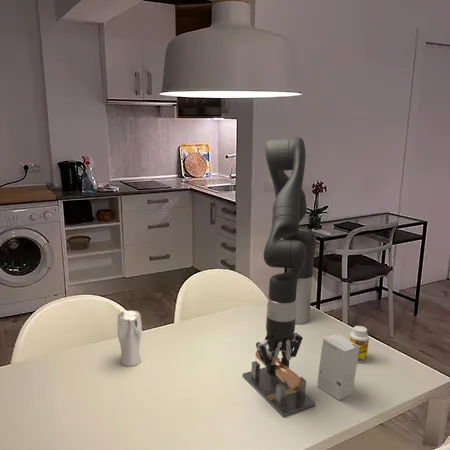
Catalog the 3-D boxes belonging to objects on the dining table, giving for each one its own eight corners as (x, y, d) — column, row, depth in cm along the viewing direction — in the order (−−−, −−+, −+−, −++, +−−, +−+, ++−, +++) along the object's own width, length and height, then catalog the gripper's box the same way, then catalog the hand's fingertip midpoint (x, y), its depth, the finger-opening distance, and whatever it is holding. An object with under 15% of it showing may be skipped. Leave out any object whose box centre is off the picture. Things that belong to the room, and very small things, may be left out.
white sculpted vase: (124, 370, 134) (123, 322, 130) (114, 359, 139) (113, 313, 136) (146, 362, 138) (145, 316, 134) (136, 352, 143) (135, 308, 140)
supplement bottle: (352, 364, 140) (355, 333, 138) (345, 354, 146) (348, 324, 143) (369, 363, 141) (373, 332, 139) (361, 353, 146) (365, 324, 144)
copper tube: (302, 389, 118) (303, 376, 117) (290, 392, 116) (291, 379, 116) (266, 357, 133) (266, 346, 132) (255, 360, 131) (255, 348, 130)
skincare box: (316, 386, 128) (320, 337, 125) (331, 379, 132) (335, 331, 128) (339, 401, 122) (344, 350, 118) (355, 394, 125) (360, 344, 122)
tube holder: (242, 376, 132) (243, 357, 131) (271, 368, 137) (272, 350, 135) (283, 417, 115) (284, 396, 114) (315, 406, 120) (316, 385, 118)
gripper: (266, 325, 114) (263, 387, 118) (311, 315, 121) (307, 374, 125) (250, 313, 120) (247, 372, 125) (294, 304, 127) (290, 360, 131)
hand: (277, 373), depth 125 cm, fingers closed on copper tube, 3 cm apart
